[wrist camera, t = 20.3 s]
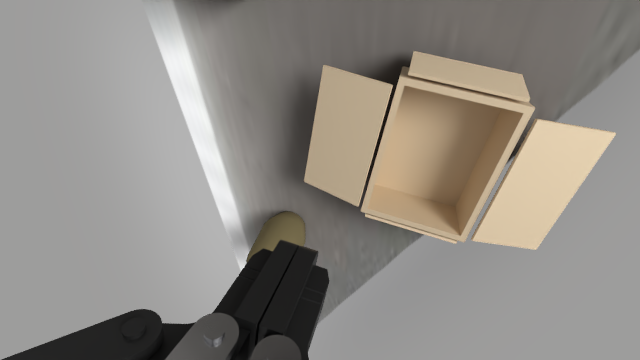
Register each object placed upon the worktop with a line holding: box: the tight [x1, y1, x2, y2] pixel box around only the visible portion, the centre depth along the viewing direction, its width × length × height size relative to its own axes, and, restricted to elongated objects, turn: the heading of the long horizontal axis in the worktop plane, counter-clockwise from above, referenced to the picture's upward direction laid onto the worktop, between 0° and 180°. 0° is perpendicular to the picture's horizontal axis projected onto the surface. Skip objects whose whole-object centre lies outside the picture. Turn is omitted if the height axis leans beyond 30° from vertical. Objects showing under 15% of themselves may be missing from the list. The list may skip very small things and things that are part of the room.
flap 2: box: [471, 119, 616, 250], centre depth 38 cm, size 17×1×9 cm
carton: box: [361, 51, 535, 244], centre depth 42 cm, size 23×14×8 cm, turn 170°
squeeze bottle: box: [246, 211, 305, 262], centre depth 52 cm, size 8×8×18 cm
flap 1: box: [304, 65, 393, 207], centre depth 42 cm, size 17×1×9 cm
